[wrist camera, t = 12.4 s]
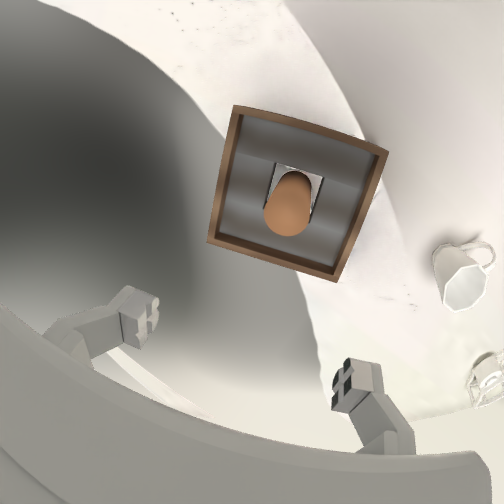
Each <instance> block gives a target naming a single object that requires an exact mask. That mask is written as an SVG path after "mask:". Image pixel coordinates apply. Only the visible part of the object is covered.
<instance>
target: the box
mask: <svg viewBox="0 0 504 504" xmlns="http://www.w3.org/2000/svg"><path fill="white" fill-rule="evenodd" d="M388 154H389V151H387V150H385V149H383V148H381V147H379V146H377V145H374V144H372V143H369V142H366V141H364V140H361V139H358V138H356V137H353V136H350V135H347V134H344V133H341V132H339V131H336V130H332V129H329V128H326V127H323V126H320V125H317V124H313V123H310V122H307V121H303V120H300V119H296V118H292V117H289V116H285V115H281V114H277V113H273V112H269V111H264V110H260V109H255V108H251V107H246V106H239V105H233V109H232V114H231V118H230V122H229V127H228V132H227V136H226V141H225V146H224V151H223V155H222V160H221V165H220V170H219V176H218V181H217V186H216V192H215V197H214V202H213V208H212V213H211V219H210V225H209V231H208V237H207V243H209V244H213V245H216V246H219V247H222V248H226V249H229V250H232V251H235V252H238V253H241V254H245V255H248V256H251V257H254V258H258V259H261V260H264V261H268V262H271V263H274V264H277V265H280V266H283V267H287V268H290V269H293V270H296V271H299V272H303V273H306V274H309V275H312V276H316V277H319V278H322V279H325V280H329V281H332V282H335V283H337V282H338V280H339V277H340V275H341V273H342V271H343V269H344V267H345V264H346V262H347V260H348V258H349V255H350V253H351V251H352V248H353V246H354V244H355V241H356V239H357V237H358V234H359V232H360V229H361V227H362V224H363V222H364V220H365V217H366V215H367V212H368V209H369V207H370V204H371V202H372V199H373V196H374V194H375V191H376V188H377V185H378V183H379V180H380V177H381V174H382V171H383V169H384V166H385V163H386V160H387V157H388ZM277 163H279V164H282V165H286V166H289V167H293V168H296V169H299V170H303V171H306V172H309V173H312V174H316V175H319V176H322V180H321V184H320V187H319V190H318V193H317V196H316V199H315V202H314V205H313V208H312V211H311V214H310V218H309V222H308V225H307V226H306V228H305V229H304V230H303V231H302V232H300V233H299V234H297V235H293V236H282V235H279V234H277V233H275V232H273V231H272V230H271V229H270V228H269V227H268V225H267V224H266V222H265V219H264V208H265V205H266V203H267V198H268V195H269V191H270V187H271V183H272V179H273V176H274V172H275V168H276V164H277Z"/></svg>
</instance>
